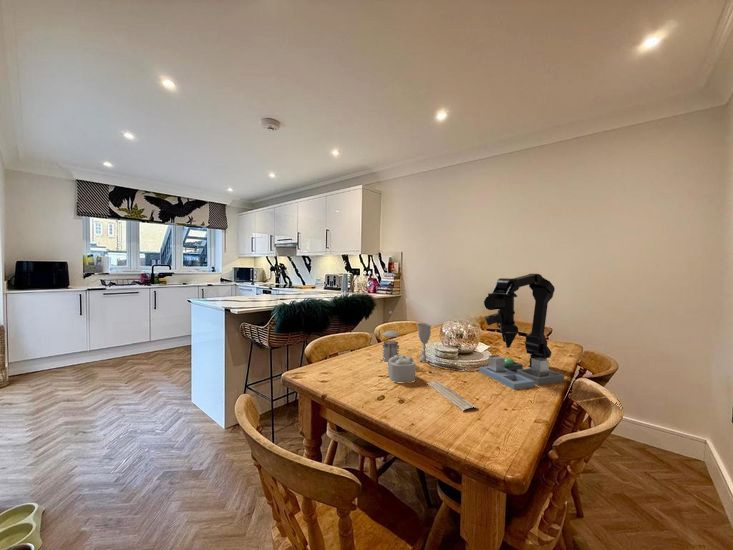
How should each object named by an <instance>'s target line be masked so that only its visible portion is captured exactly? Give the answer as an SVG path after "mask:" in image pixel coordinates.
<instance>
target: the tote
mask: <svg viewBox="0 0 733 550" xmlns="http://www.w3.org/2000/svg"><path fill="white" fill-rule="evenodd" d="M516 373H517V374H519V375H522V376H524V377H526V378H528V379H531V380H533V381H535V386H541V385H542V386H543V385H547V384H555V383H556V384H557V383H562V382H565V374H562V373H559V372H558V371H554V370H552V369H549V376H547V377H540V378H537V377H535V376H532V375H531V367H529V368H523V369H520V370H517V371H516Z"/></svg>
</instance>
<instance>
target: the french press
mask: <svg viewBox="0 0 733 550" xmlns="http://www.w3.org/2000/svg"><path fill="white" fill-rule="evenodd" d="M388 314H390V315H393V314H394V312H393V311H392V310H391V311H390V310H389V312H388ZM382 336H383V337H387V338H391V340H385V341H383V344H382V360H383V361H384V362H388V360H389V359H390V358H391V357H394V356H395V355H397V356H400V355H399V352H400V345H398V344H399V342H398V341H396V340H393V338H396V337H399V336H400V334H399V333H398V331H394V330H386V331H384V332H383V333H382ZM384 358H385V359H384Z"/></svg>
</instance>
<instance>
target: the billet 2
mask: <svg viewBox="0 0 733 550" xmlns="http://www.w3.org/2000/svg"><path fill="white" fill-rule="evenodd" d="M530 368H531V375H532V376H535V377H537V378H540V377H547V376H549V370H550V360H549V359H547V360H546V359H543V358H542V357H534V358H532V364H531V367H530Z"/></svg>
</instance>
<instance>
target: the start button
mask: <svg viewBox="0 0 733 550" xmlns="http://www.w3.org/2000/svg"><path fill="white" fill-rule="evenodd" d="M504 358H505V364H507V365H512V364H514V361H515V359H513V358H508V357H504Z"/></svg>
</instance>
